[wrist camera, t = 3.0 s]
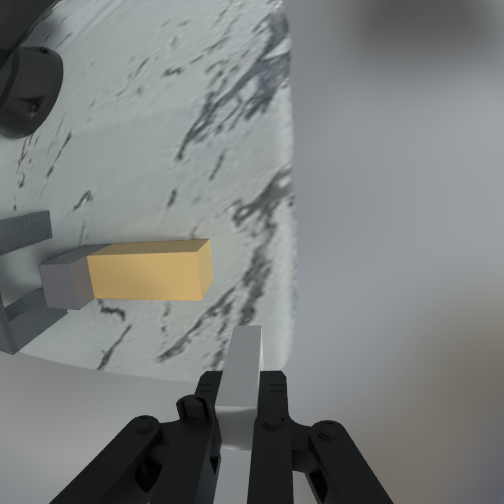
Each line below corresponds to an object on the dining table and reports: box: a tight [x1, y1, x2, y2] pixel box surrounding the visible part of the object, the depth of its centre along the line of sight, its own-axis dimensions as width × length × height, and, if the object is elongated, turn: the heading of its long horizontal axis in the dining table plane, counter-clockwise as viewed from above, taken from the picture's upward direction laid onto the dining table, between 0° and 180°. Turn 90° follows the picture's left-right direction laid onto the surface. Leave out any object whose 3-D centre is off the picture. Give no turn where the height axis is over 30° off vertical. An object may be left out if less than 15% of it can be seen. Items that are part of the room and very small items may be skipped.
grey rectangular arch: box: [0, 211, 68, 355], centre depth 29 cm, size 16×6×14 cm, turn 3°
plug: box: [38, 239, 213, 310], centre depth 30 cm, size 5×18×10 cm, turn 93°
